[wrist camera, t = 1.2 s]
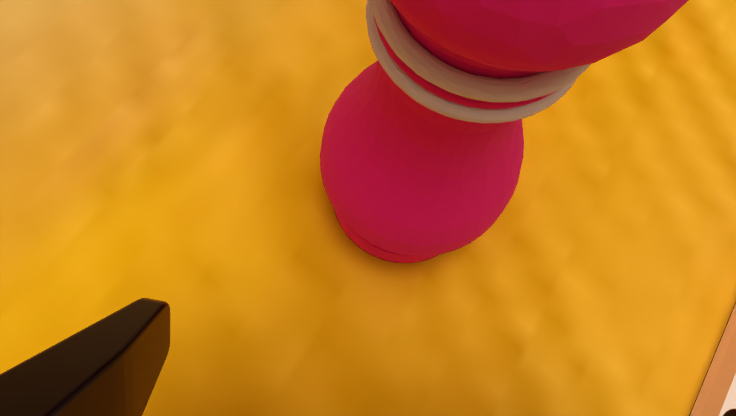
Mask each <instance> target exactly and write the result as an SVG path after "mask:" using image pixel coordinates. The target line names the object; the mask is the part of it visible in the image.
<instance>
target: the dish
mask: <svg viewBox="0 0 736 416" xmlns="http://www.w3.org/2000/svg"><path fill="white" fill-rule="evenodd" d="M730 409H736V304H735V307H734V309H733V312H732V314H731V317H730V319H729V321H728V324H727V326H726V329H725V331H724V334H723V336H722V339H721V341H720V343H719V346H718V348H717V351H716V353H715V356H714V358H713V361H712V363H711V365H710V368H709V370H708V373H707V375H706V378H705V380H704V382H703V385H702V387H701V390H700V392H699V395H698V397H697V400H696V402H695V404H694V407H693V409H692V412H691V414H690V416H723V414H724V413H725V412H726V411H728V410H730Z"/></svg>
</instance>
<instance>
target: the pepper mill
mask: <svg viewBox="0 0 736 416" xmlns="http://www.w3.org/2000/svg"><path fill="white" fill-rule="evenodd" d="M687 1H688V0H367V5H366V19H367V27H368V34H369V38H370V42H371V45H372V48H373V51H374V53H375V55H376V57H377V59H378V61H377V62H375V63H374V64H372V65H371V66H369V67H368V68H366V69H365V70H363V71H362V72H361V73H360V74H359V75H358V76H357V77H356V78H355V79H354V80H353V81H352V82H351V83H350V84H349V85H348V86H347V87H346V88H345V89H344V91H343V92H342V94H341V95H340V97H339V98H338V99H337V101H336V102H335V104H334V106H333V108H332V110H331V112H330V113H329V116H328V119H327V122H326V125H325V128H324V133H323V138H322V145H321V152H320V167H321V174H322V179H323V184H324V186H325V189H326V192H327V194H328V197H329V199H330V201H331V203H332V204H333V206H334V210H335V213H336V216H337V219H338V221H339V223H340V225H341V227H342V228H343V230H344V231H345V233H346V234H347V236H348V237H349V238H350V239H351V240H352V241H353V242H354V243H355V244H356V245H358V246H359V247H360V248H362V249H363V250H364V251H366V252H367V253H369V254H371V255H373V256H376V257H378V258H380V259H383V260H386V261H391V262H395V263H413V262H419V261H424V260H428V259H430V258H433V257H435V256H437V255H439V254H442V253H446V252H450V251H453V250H456V249H458V248H461V247H463V246H465V245H467V244H469V243H471V242H472V241H474V240H475V239H477V238H478V237H480V236H481V235H482V234H483V233H484V232H485V231H486V230H488V229H489V228H490V227H491V226H492V225H493V224H494V222H495V221H496V220H497V218H498V217H499V215H500V214H501V213H502V211H503V210H504V208H505V207H506V205H507V204H508V202H509V200H510V199H511V197H512V195H513V193H514V190H515V188H516V185H517V183H518V178H519V174H520V169H521V164H522V159H523V150H524V138H523V127H522V118H525V117H529V116H532V115H534V114H536V113H538V112H540V111H542V110H544V109H546V108H548V107H549V106H551V105H552V104H554V103H555V102H556V101H557V100H559V99H560V98H561V97H562V96H563V95H564V94H565V93H566V92H567V91H568V90H569V89H570V87H571V86H572V85H573V84H574V82H575V81H576V79H577V78H578V76H579V75H581V74H582V73H583V72H584V71H585V70H586V69H587V68H588V67H589V65H590V64H591V63H595V62H597V61H599V60H601V59H603V58H605V57H608V56H610V55H612V54H614V53H616V52H619V51H621V50H623V49H625V48H627V47H630V46H632V45H634V44H636V43H638V42H640V41H643V40H644V39H645V38H646V37H648V36H649V35H650V34H651V33H652V32H653V31H655V30H656V29H657V28H658V27H659V26H661V25H662V24H663V23H664V22H665V21H667V20H668V19H669V18H670V17H671V16H672V15H673V14H674V13H675V12H676V11H677V10H679V9H680V8H681V7H682V6H683V5H684V4H685V3H686V2H687Z"/></svg>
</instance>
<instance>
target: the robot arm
mask: <svg viewBox="0 0 736 416" xmlns="http://www.w3.org/2000/svg"><path fill="white" fill-rule="evenodd" d="M169 346H170V307H169V304H168V303H166V302H164V301H159V300H154V299H149V298H141V299H139V300H137V301H135V302H133V303H131V304H129V305H127V306H125V307H124V308H122V309H120V310H118V311H116V312H114V313H113V314H111V315H109V316H107V317H105V318H103V319H101V320H100V321H98V322H96V323H94V324H92V325H90V326H89V327H87V328H85V329H83V330H81V331H79V332H78V333H76V334H74V335H72V336H70V337H68V338H66V339H65V340H63V341H61V342H59V343H57V344H55V345H54V346H52V347H50V348H48V349H46V350H44V351H42V352H41V353H39V354H37V355H35V356H33V357H31V358H30V359H28V360H26V361H24V362H22V363H20V364H18V365H17V366H15V367H13V368H11V369H9V370H7V371H6V372H4V373H2V374H0V416H142V414H143V412H144V409H145V407H146V405H147V402H148V400H149V397H150V395H151V393H152V390H153V388H154V386H155V383H156V381H157V378H158V376H159V374H160V371H161V369H162V367H163V364H164V362H165V360H166V357H167V354H168V351H169ZM723 416H736V409H730V410H728V411H726V412H725V413H724V414H723Z"/></svg>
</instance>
